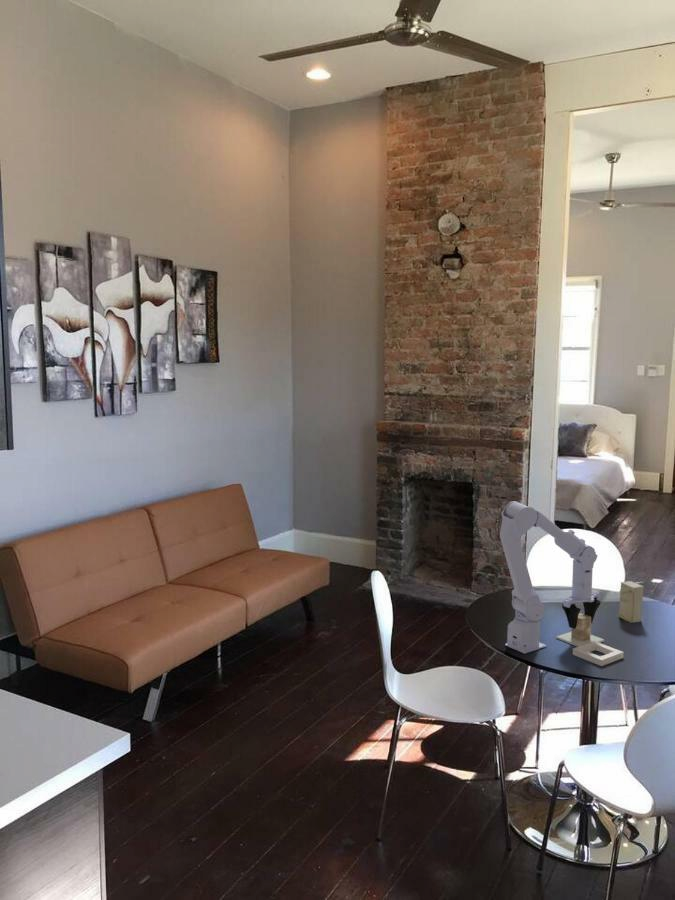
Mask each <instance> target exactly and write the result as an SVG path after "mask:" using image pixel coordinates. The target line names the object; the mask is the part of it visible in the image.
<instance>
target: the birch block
mask: <svg viewBox="0 0 675 900" xmlns="http://www.w3.org/2000/svg"><path fill="white" fill-rule="evenodd" d="M591 629H592V623H591V617H590V616H587V615H585V613H580V612H579V615H578V619H577V626H576V629H573V628H571V631H570V632H571V638H574V639H576V640H579V641H585V640H588V639H590V637H591V635H592V633H591V632H592V630H591Z"/></svg>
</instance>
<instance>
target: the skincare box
mask: <svg viewBox="0 0 675 900" xmlns="http://www.w3.org/2000/svg"><path fill="white" fill-rule="evenodd" d="M644 587H645V586H644V585H642V584H639V583H636V582H634V581H632V580H629V581H621V582H620V593H619V606H618V607H619V609H618V617H619V618H621V619H623V620H624V621H626V622H628V621H629V622H628V623H630V624H633V623H640V621H641V622H642V614H643V613H642V612H643V599H644Z"/></svg>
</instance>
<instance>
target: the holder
mask: <svg viewBox="0 0 675 900" xmlns="http://www.w3.org/2000/svg"><path fill="white" fill-rule="evenodd" d="M594 651H597V652H599V653H602V654H604V655H598V654H594V653H593V652H594ZM624 653H625V652H624V651H622V650H619V649H616V648H614V647H612V646H608V645H606V644H603V643H602V642H601V643H598V642H596V641H593V642H591V643H588V644H585V645H582V646H579V647H577V646H575V647H574V648H572V655H573V656H576V657H578V658H580V659H582V660H585V661H586V662H587V661H588V662H590V663H592V664H595V665H597V666H600V667H604V666H606V665H608V664H611V663H614V662H616V661H619V660H621V659H624Z"/></svg>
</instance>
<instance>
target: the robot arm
mask: <svg viewBox="0 0 675 900" xmlns="http://www.w3.org/2000/svg"><path fill="white" fill-rule="evenodd" d="M500 515H501V517H502V520H501V524H500V531H499V538H500V541H501V546H502V550H503V552H504V556H505V560H506V563H507V567H508V570H509V575H510V578H511V581H512V586H513V588H514V589H512V591H511V595H512V600H511V606H512V607H513V608H512V609H514V610H515V614H514V615H515V617H514V619H513V620H512V621H510V622H509V623H508V625H507V635H506V636H507V639H506V643H505V644H504V645H505V646H506V647H508V648H511V649H513V650H515V651H517V652H520V653H522V654H528V653H530V652H531V653H532V652H534V651H537V650H540V649H543V648H546V647H547V645H546V644H544V643H542V642H540V635H541V633H540V632H541V620H542V618H543V617H544V615H545V612H546V606H545V605H544V603H543V602H542V601H541V599H540V597H539V594H538V593H537V591H536V590H535V589H534V587H533V583H532V580H531V577H530V572H529V569H528V566H527V561H526V559H525V554H524V551H523V547H522V543H521V538H522V536H524V535H525V534H526V533H527V532H528V531H530V529H532V528H533V527H534V528H540V529H541V530H543V531H544V532H546V533H547V534H548V535H550V536H551V537H553V538H554V540H553V541H554V544H555V545H556V546H557V547H559V548H560V549H561V550H563V551H564V552H566V553H567V554H568V555H569V558H571V559H572V579H571V582H572V583H571V584H572V585H571V595H570V596H568V597H566V598H565V599H563V600H562V602H563V603H561V608H562V609H563V611H564V613H565V617H566V619H567V622H568V627H569V628H570V629H572V628H573V629H576V626H577V619H578V615H579V613H580V612H581V610H582V609H581V608H580V607H578V606H576V605H579V604H582V605H583V609H584V612H583V614H584V615H587V616H590V617H591V624H593V621H594V618H595V615H596V612H597V610H598V608H599V607H600V606H601V600H598V599H600V592H598V591H595V590H594V591H592V590H593V589H592V588H593V569H594V564H595V562H596V561H597V558H598V554H597V553H596V550H595V548H594V547H592V546H591V545H589V544H586V540H584V538H579V537H578V536H577V535H575V531H574V530H572V529H567V528H563V529H561V528H560V527H558V526H557V524H555V523H554V522H553V521H552V520H550V518H548V517H547V516H546V515H544V514H543V513H542V512H540V511H538V510H537V509H535V508H534V507H532V506H527V505H525V504H523V503H521V502H520V501H519V502H518V501H515V500H514V501H510V502H508V503H507V504H506V505H505V506H504V508H503V510H502V511H501V514H500Z"/></svg>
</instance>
